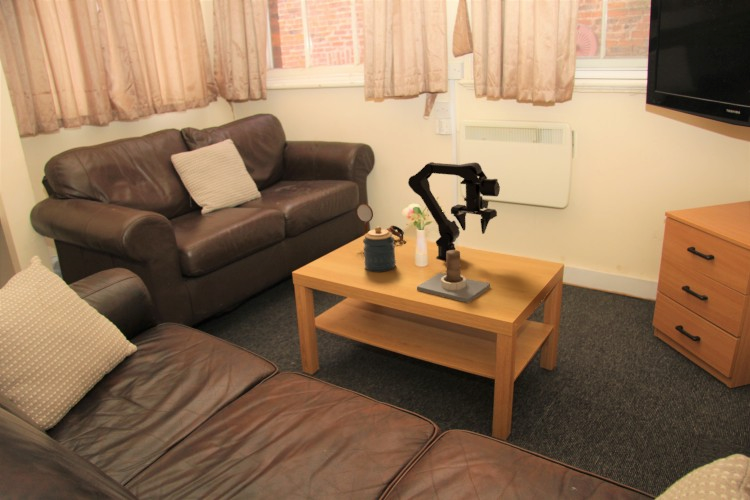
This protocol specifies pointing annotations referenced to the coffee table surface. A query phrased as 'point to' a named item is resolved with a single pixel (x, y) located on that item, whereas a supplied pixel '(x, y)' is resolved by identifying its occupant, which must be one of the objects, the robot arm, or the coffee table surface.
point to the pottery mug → (398, 234)
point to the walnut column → (453, 266)
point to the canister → (379, 250)
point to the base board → (454, 294)
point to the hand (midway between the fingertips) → (473, 231)
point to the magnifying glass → (365, 214)
